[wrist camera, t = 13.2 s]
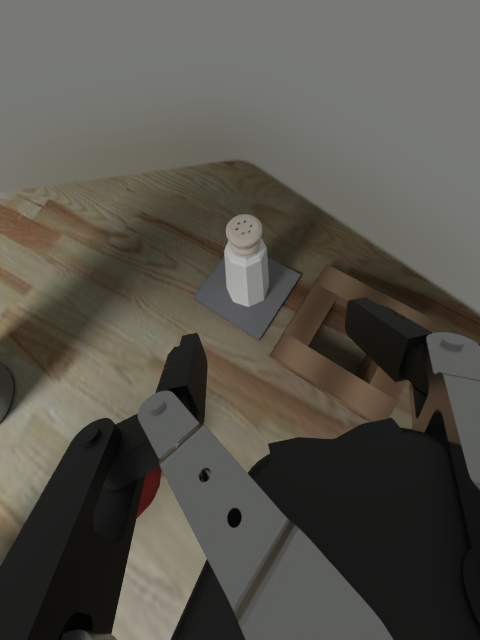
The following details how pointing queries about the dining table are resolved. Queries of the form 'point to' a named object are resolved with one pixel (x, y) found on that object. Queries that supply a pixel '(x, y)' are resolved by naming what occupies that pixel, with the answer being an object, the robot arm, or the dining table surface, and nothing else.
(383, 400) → the socket block
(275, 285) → the rubber pad
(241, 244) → the pepper shaker
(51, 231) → the dining table surface
